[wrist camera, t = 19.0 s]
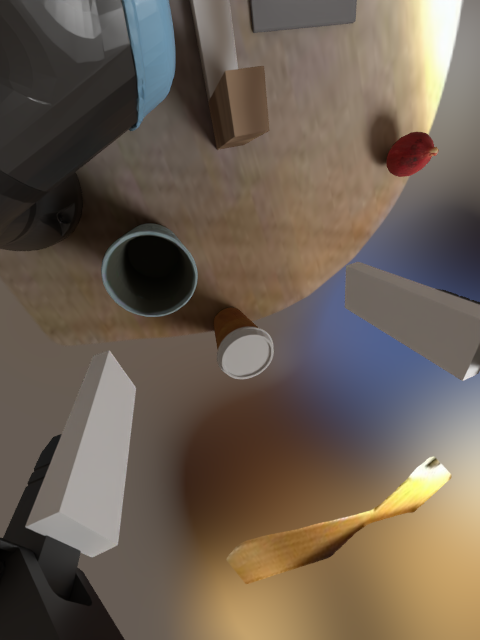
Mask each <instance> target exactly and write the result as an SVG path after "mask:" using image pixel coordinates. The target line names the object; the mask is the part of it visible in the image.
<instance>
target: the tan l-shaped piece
mask: <svg viewBox="0 0 480 640" xmlns="http://www.w3.org/2000/svg"><path fill="white" fill-rule="evenodd" d="M190 5H191V11H192V16H193V22H194V27H195V32H196V38H197V43H198V49H199V54H200V60H201V65H202V70H203V76H204V81H205V87H206V92H207V98H208V103H209V108H210V114H211V119H212V125H213V130H214V136H215V141H216V146H217V150H219V149H224V148H229V147H235V146H240V145H245V144H246V143H248V142H250V141H252V140H253V139H255V138H257V137H259V136H260V135H262V134H264V133H266V132H268V131H269V121H268V109H267V97H266V85H265V73H264V66H258V67H250V68H243V69H238V65H237V57H236V49H235V41H234V33H233V25H232V17H231V9H230V1H229V0H190Z"/></svg>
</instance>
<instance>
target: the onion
mask: <svg viewBox="0 0 480 640" xmlns="http://www.w3.org/2000/svg"><path fill="white" fill-rule="evenodd" d="M438 151H439V150H438V149H437V147H434V144H433V141H432V139H431V138H430V136H429V135H428V134H426V133H423V132H412V133H410V134H408V135H405V136H403V137H401V138H400V139H399V140H398V141H397V142H396V143H395V144H394V145H393V146H392V148H391V149H390V151H389V153H388V156H387V168H388V170H389V171H390V173H392V174H393V175H395V176H398V177H402V176H410V175H412V174H414V173H416V172H418V171H419V170H421V169H422V168H423V167H424V166H425V165H426V164H427V163H428V162H429V161H430V159H431V157H432V156H435V155H436V154H437V153H438Z"/></svg>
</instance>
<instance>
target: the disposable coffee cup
mask: <svg viewBox="0 0 480 640" xmlns="http://www.w3.org/2000/svg"><path fill="white" fill-rule="evenodd" d="M214 330H215V336H216V342H217V349H218V352H217V362H218V365H219V367H220V368H221V369H222V371H223V372H225V373H226V374H228V375H229V376H230V377H233V378H236V379H248V378H251V377H254V376H256V375H258V374H260V373H261V372H262V371H264V370H265V369H266V368H267V367H268V365H269V364H270V362H271V361H272V358H273V353H274V349H273V341H272V339H271V337H270V335H269V334H268V333H267V332H266V331H264V330H262V329H260V328H258V327H257V326H256V325H255V324H254V323H253V322H252V321H251V320H249V319H248V318H247V317H246V316H245V315H244V314H243V313H242V312H241V311H240V310H238V309H236V308H226V309H223V310H221V311H220V312H219V313H218V314H217V315H216V317H215V319H214Z"/></svg>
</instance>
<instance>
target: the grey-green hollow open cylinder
mask: <svg viewBox="0 0 480 640" xmlns="http://www.w3.org/2000/svg"><path fill="white" fill-rule="evenodd" d="M101 273H102V280H103V283H104V286H105V288H106V290H107V292H108V293H109V295H110V296H111V298H112V299H113V300H114V301H115V302H116V303H117V304H119V305H120V306H121V307H123V308H124V309H126V310H127V311H129V312H132V313H134V314H138V315H141V316H146V317H158V316H164V315H168V314H171V313H173V312H175V311H177V310H178V309H180V308H181V307H182V306H183V305H185V304H186V303H187V302H188V301H189V299H190V298H191V297H192V295H193V293H194V291H195V288H196V285H197V268H196V264H195V261H194V259H193V257H192V255H191V254H190V252H189V251H188V250H187V249H186V247H185V246H184V245H183V244H182V243H181V242H180V241H179V239H178V238H177V237H176V235H175V234H174V233H173V232H172V231H170V230H169V229H168V228H166V227H164V226H162V225H158V224H152V223H148V224H142V225H139V226H137V227H135V228H134V229H133V230H131V231H129V232H128V233H126V234H125V235H123V236H122V237H120V238H119V239H118V240H117V241H115V242H114V243H113V244H112V245H111V246H110V247H109V248H108V250H107V252H106V253H105V255H104V258H103V261H102V268H101Z"/></svg>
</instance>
